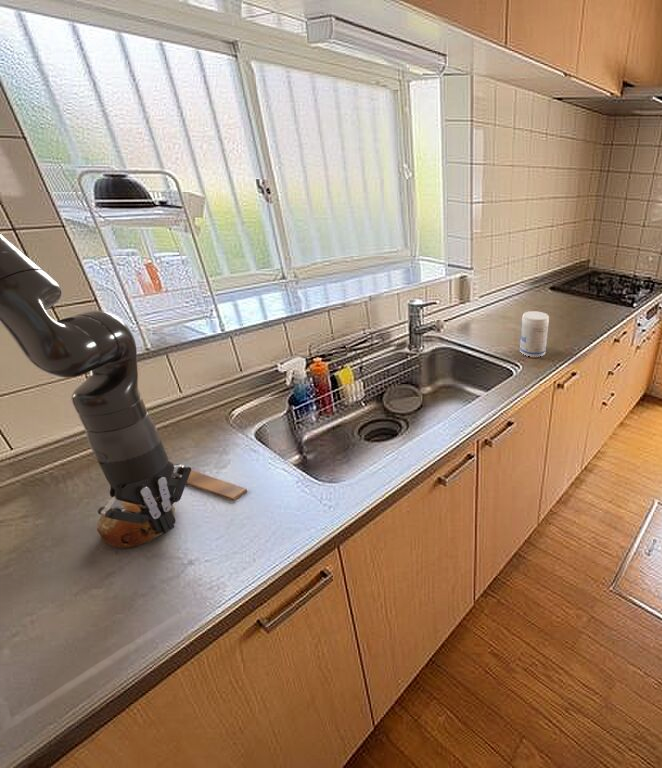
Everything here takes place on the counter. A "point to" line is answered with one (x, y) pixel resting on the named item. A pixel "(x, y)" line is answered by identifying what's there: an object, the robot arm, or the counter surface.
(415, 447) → the counter surface
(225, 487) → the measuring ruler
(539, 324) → the supplement tub
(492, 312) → the counter surface
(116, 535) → the bread roll
